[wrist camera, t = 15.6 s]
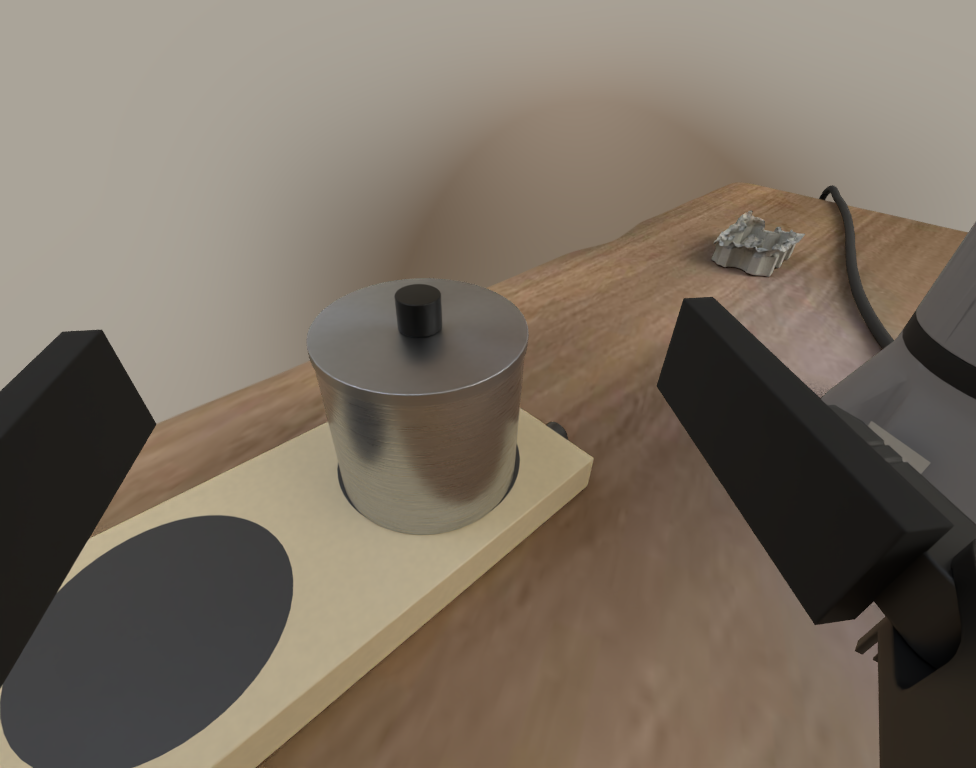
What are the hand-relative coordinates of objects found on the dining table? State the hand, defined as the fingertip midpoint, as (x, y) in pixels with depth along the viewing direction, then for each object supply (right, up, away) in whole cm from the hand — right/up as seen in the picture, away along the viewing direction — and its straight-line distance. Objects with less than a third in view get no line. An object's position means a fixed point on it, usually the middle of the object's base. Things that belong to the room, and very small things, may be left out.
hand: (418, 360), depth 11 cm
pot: (-2, -5, +15) cm, 16 cm away
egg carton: (+34, +14, +46) cm, 59 cm away
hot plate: (-7, -10, +14) cm, 18 cm away
